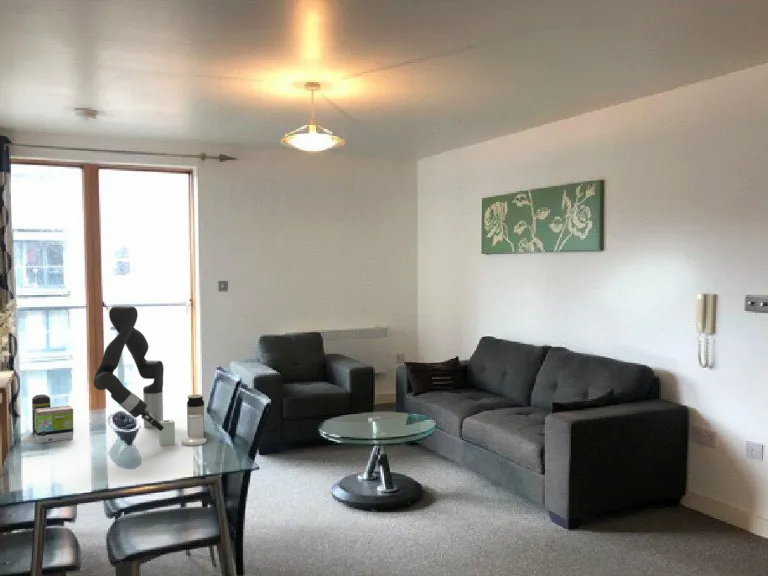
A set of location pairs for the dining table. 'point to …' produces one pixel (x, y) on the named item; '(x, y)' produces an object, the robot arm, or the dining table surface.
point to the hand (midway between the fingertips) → (160, 427)
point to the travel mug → (195, 406)
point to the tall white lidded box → (195, 426)
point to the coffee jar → (39, 405)
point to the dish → (193, 441)
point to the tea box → (53, 424)
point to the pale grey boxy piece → (167, 432)
